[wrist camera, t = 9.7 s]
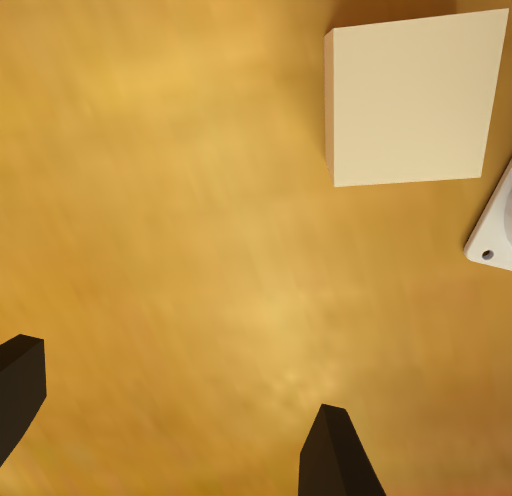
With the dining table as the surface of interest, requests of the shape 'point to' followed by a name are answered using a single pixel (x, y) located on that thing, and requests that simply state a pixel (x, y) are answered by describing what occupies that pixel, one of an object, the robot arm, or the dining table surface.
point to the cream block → (411, 97)
